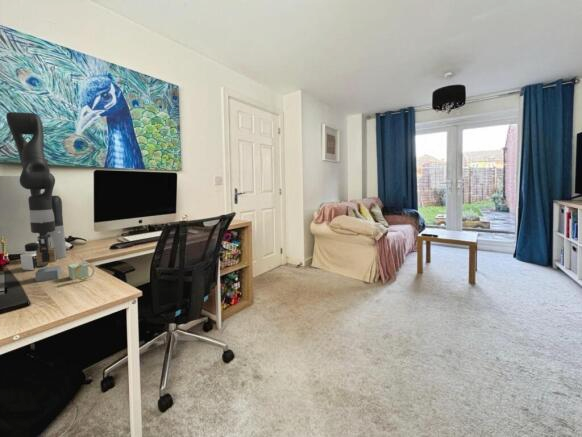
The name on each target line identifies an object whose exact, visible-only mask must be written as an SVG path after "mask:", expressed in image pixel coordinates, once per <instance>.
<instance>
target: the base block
mask: <svg viewBox="0 0 582 437" xmlns="http://www.w3.org/2000/svg"><path fill="white" fill-rule="evenodd" d="M34 273H35V274H34V276H35V282H36V283H37V282H46V281H52V280H59V279H60V277H61V276H62V266H61V265H56V266H48V267H45V268H40V269H38V270H36V271H35V272H34Z"/></svg>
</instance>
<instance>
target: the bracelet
mask: <svg viewBox="0 0 582 437" xmlns="http://www.w3.org/2000/svg"><path fill="white" fill-rule="evenodd" d="M82 262H83V263H82ZM79 263H80V264H78V265H77V266H76V268H75V270H74V275H75V277H76V278H77V279H76V280H78V281H85V282H86V281H88V280H90V279H91V278H93V277H94V275H95V272H96V269H95V266H94V264H91V263H89V262H88V261H86V262H85V261H81V262H79ZM85 265H87V266H88V267H90V268H91V269H92V272H91V275H89V277H85V278H79V277H77V274H76V273H77V271H78V270H79V269H80V268H81V267H83V266H85Z"/></svg>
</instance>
